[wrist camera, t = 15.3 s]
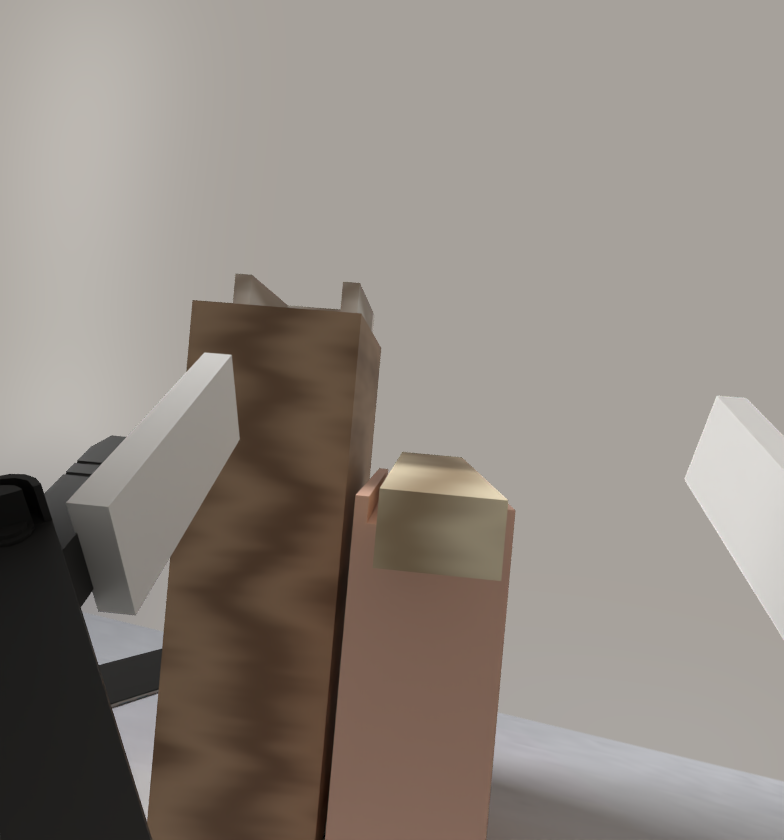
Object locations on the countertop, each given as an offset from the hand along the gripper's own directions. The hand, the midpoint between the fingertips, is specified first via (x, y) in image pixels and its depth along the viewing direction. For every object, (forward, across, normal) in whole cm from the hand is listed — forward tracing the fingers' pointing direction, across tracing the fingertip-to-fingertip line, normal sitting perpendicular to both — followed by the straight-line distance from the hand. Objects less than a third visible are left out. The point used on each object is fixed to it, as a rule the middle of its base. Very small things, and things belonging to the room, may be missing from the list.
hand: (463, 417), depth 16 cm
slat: (+8, 0, -10) cm, 13 cm away
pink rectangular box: (+1, 0, -30) cm, 30 cm away
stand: (+5, -9, -32) cm, 34 cm away
